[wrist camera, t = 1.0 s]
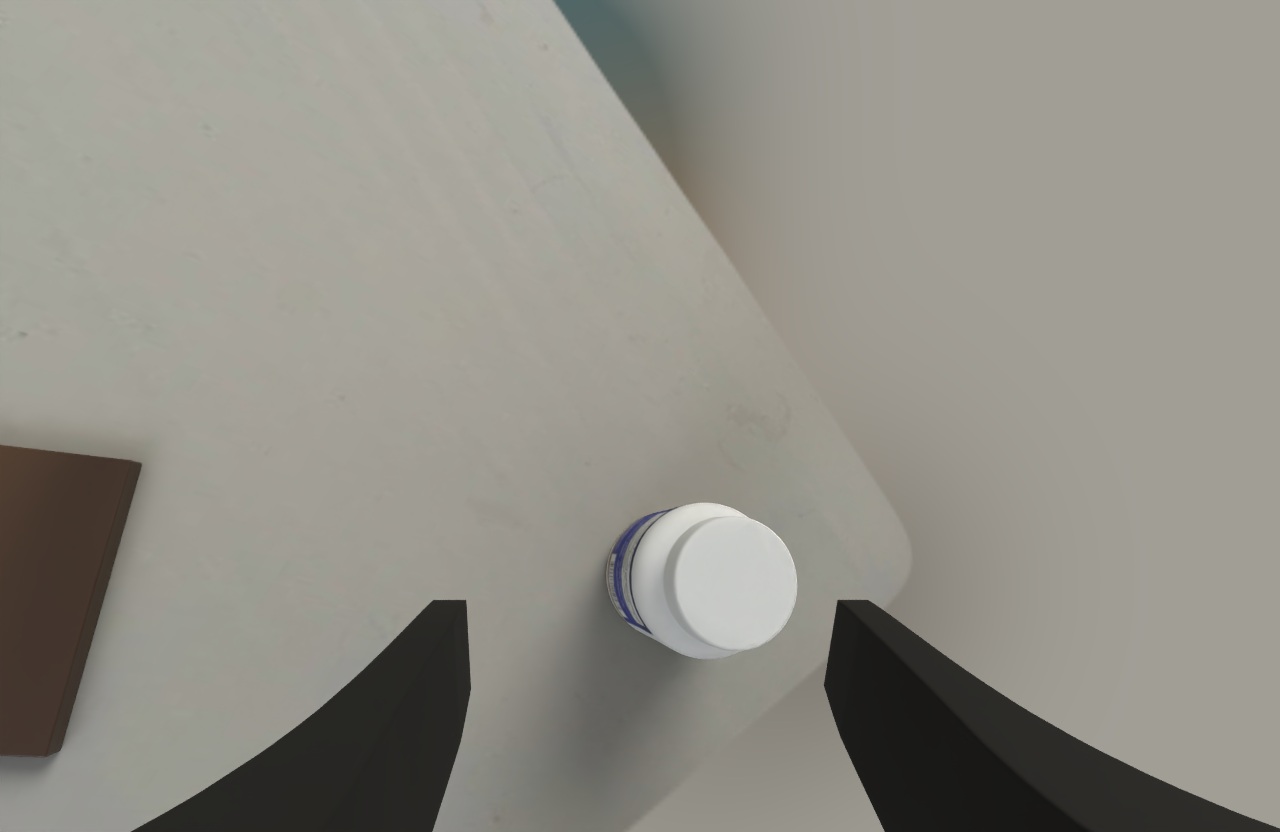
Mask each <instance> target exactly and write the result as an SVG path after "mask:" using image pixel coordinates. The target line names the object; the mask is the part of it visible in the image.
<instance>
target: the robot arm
mask: <svg viewBox="0 0 1280 832" xmlns="http://www.w3.org/2000/svg"><path fill="white" fill-rule="evenodd" d="M824 687H825V690H826V693H827V697H828V700H829V703H830V707H831V710H832V713H833V716H834V719H835V722H836V725H837V728H838V731H839V734H840V736H841V739H842V741H843V743H844V745H845V748H846V750H847V752H848V754H849V756H850V759H851V761H852V763H853V765H854V767H855V769H856V772H857V774H858V776H859V778H860V780H861V782H862V784H863V786H864V788H865V791H866V793H867V795H868V797H869V799H870V801H871V803H872V805H873V807H874V810H875V812H876V814H877V816H878V818H879V820H880V822H881V825H882V827H883V829H884V831H885V832H1280V829H1279V828H1276V827H1274V826H1271V825H1269V824H1266V823H1263V822H1260V821H1258V820H1255V819H1252V818H1249V817H1247V816H1244V815H1241V814H1239V813H1236V812H1234V811H1231V810H1229V809H1227V808H1224V807H1222V806H1219V805H1217V804H1215V803H1212V802H1210V801H1207V800H1205V799H1203V798H1201V797H1198V796H1196V795H1193V794H1191V793H1188V792H1186V791H1184V790H1181V789H1179V788H1177V787H1175V786H1173V785H1170V784H1168V783H1166V782H1164V781H1162V780H1159V779H1157V778H1155V777H1153V776H1150V775H1148V774H1146V773H1144V772H1142V771H1140V770H1138V769H1136V768H1134V767H1132V766H1130V765H1128V764H1126V763H1124V762H1122V761H1120V760H1118V759H1116V758H1113V757H1111V756H1109V755H1107V754H1105V753H1103V752H1101V751H1099V750H1097V749H1095V748H1093V747H1092V746H1090V745H1088V744H1086V743H1084V742H1082V741H1080V740H1078V739H1076V738H1075V737H1073V736H1071V735H1069V734H1067V733H1066V732H1064V731H1062V730H1061V729H1059V728H1057V727H1055V726H1053V725H1052V724H1050V723H1048V722H1046V721H1045V720H1043V719H1041V718H1039V717H1038V716H1036V715H1034V714H1032V713H1031V712H1029V711H1027V710H1026V709H1024V708H1023V707H1021V706H1019V705H1018V704H1016V703H1015V702H1013V701H1011V700H1010V699H1008V698H1007V697H1005V696H1004V695H1002V694H1001V693H999V692H998V691H996V690H995V689H993V688H992V687H990V686H988V685H987V684H985V683H984V682H982V681H981V680H979V679H978V678H976V677H975V676H974V675H972V674H971V673H969V672H968V671H966V670H965V669H963V668H962V667H960V666H959V665H958V664H956V663H955V662H953V661H952V660H950V659H949V658H948V657H946V656H945V655H944V654H942V653H941V652H940V651H938V650H937V649H935V648H934V647H933V646H931V645H930V644H929V643H927V642H926V641H924V640H923V639H922V638H920V637H919V636H918V635H916V634H915V633H914V632H912V631H911V630H910V629H908V628H907V627H906V626H904V625H903V624H902V623H900V622H899V621H898V620H896V619H895V618H893V617H892V616H891V615H889V614H888V613H886V612H885V611H884V610H882V609H881V608H879V607H878V606H876V605H875V604H873V603H872V602H870V601H869V600H838V601H837V607H836V614H835V620H834V626H833V632H832V638H831V645H830V651H829V657H828V663H827V670H826V676H825V682H824ZM470 691H471V682H470V662H469V643H468V624H467V605H466V600H433V601H432V602H431V603H430V604H429V605H428V606H427V607H426V608H425V609H424V610H423V611H422V612H421V613H420V614H419V615H418V616H417V617H416V618H415V619H414V620H413V621H412V622H411V623H410V624H409V625H408V626H407V627H406V628H405V629H404V630H403V631H402V632H401V633H400V634H399V635H398V636H397V637H396V638H395V639H394V640H393V641H392V642H391V643H390V644H389V645H388V646H387V647H386V648H385V649H384V650H383V651H382V652H381V653H380V654H379V655H378V656H377V657H376V658H375V659H374V660H373V661H372V662H371V663H370V664H369V665H368V666H367V667H366V668H365V669H364V670H363V671H362V672H360V673H359V674H358V675H357V676H356V677H355V678H354V679H353V680H352V681H351V682H349V683H348V684H347V685H346V686H345V687H344V688H343V689H341V690H340V691H339V692H338V693H337V694H336V695H335V696H333V697H332V698H331V699H330V700H329V701H328V702H327V703H325V704H324V705H323V706H322V707H321V708H320V709H318V710H317V711H316V712H315V713H314V714H312V715H311V716H310V717H309V718H307V719H306V720H305V721H303V722H302V723H301V724H300V725H298V726H297V727H296V728H294V729H293V730H292V731H290V732H289V733H287V734H286V735H285V736H283V737H282V738H281V739H279V740H278V741H277V742H275V743H274V744H273V745H271V746H270V747H268V748H267V749H266V750H264V751H263V752H261V753H260V754H258V755H257V756H255V757H254V758H252V759H251V760H249V761H248V762H246V763H245V764H243V765H241V766H240V767H238V768H237V769H235V770H234V771H232V772H231V773H229V774H228V775H226V776H225V777H223V778H222V779H220V780H218V781H217V782H215V783H214V784H212V785H211V786H209V787H208V788H206V789H205V790H203V791H201V792H200V793H198V794H196V795H195V796H193V797H191V798H190V799H188V800H186V801H185V802H183V803H181V804H179V805H178V806H176V807H174V808H173V809H171V810H169V811H167V812H166V813H164V814H162V815H160V816H159V817H157V818H155V819H153V820H151V821H149V822H148V823H146V824H144V825H142V826H140V827H139V828H137V829H135V830H133V831H131V832H432V831H433V828H434V825H435V821H436V818H437V815H438V812H439V809H440V806H441V803H442V800H443V796H444V793H445V790H446V787H447V784H448V781H449V778H450V774H451V771H452V768H453V765H454V762H455V758H456V755H457V752H458V749H459V745H460V742H461V737H462V733H463V728H464V723H465V718H466V712H467V707H468V702H469V696H470Z"/></svg>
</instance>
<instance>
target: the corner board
mask: <svg viewBox="0 0 1280 832" xmlns="http://www.w3.org/2000/svg"><path fill="white" fill-rule="evenodd" d="M141 465H142V464H141V463H139V462H135V461H131V460H123V459H114V458H106V457H97V456H89V455H80V454H72V453H64V452H55V451H47V450H38V449H30V448H21V447H13V446H4V445H0V756H19V757H47V756H49V755H51V754H53V753H56V752H58V751H60V749H61V746H62V743H63V739H64V736H65V732H66V729H67V725H68V722H69V718H70V715H71V711H72V708H73V704H74V701H75V697H76V693H77V690H78V686H79V683H80V679H81V676H82V672H83V669H84V665H85V662H86V658H87V655H88V651H89V648H90V644H91V641H92V637H93V634H94V630H95V627H96V623H97V620H98V616H99V613H100V609H101V606H102V602H103V599H104V595H105V592H106V588H107V585H108V581H109V578H110V574H111V571H112V567H113V563H114V560H115V556H116V553H117V549H118V546H119V542H120V539H121V535H122V532H123V528H124V525H125V521H126V518H127V514H128V511H129V507H130V504H131V500H132V497H133V493H134V490H135V486H136V483H137V479H138V476H139V472H140V469H141Z"/></svg>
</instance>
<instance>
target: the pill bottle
mask: <svg viewBox="0 0 1280 832" xmlns="http://www.w3.org/2000/svg"><path fill="white" fill-rule="evenodd" d="M606 579H607V587H608V592H609V595H610V598H611V601H612V603H613V605H614V607H615V608H616V610H617V611H618V613H619V614H620V616H621V617H622V618H623V619H624V620H625V621H626V622H627V623H628V624H629V625H630V626H632V627H633V628H634V629H636V630H637V631H639V632H641V633H643V634H645V635H647V636H649V637H651V638H653V639H655V640H657V641H658V642H660V643H662V644H664V645H665V646H667V647H669V648H670V649H672V650H674V651H676V652H678V653H680V654H683V655H685V656H689V657H692V658H696V659H719V658H725V657H728V656H731V655H734V654H736V653H738V652H740V651H746V650H750V649H754V648H757V647H759V646H761V645H763V644H765V643H767V642H769V641H770V640H771V639H773V638H774V637H775V636H776V635H777V634H778V633H779V632H780V631H781V630H782V629H783V627H784V626H785V624H786V623H787V621H788V620H789V618H790V616H791V614H792V611H793V608H794V605H795V601H796V595H797V576H796V570H795V566H794V562H793V559H792V557H791V555H790V553H789V551H788V549H787V547H786V546H785V544H784V543H783V541H782V540H781V539H780V538H779V537H778V536H777V535H776V534H775V533H774V532H773V531H772V530H771V529H770V528H768V527H767V526H765V525H764V524H762V523H760V522H758V521H755V520H753V519H749V518H748V517H747V516H745V515H744V514H742V513H741V512H739V511H737V510H735V509H733V508H730V507H728V506H724V505H721V504H716V503H694V504H688V505H684V506H680V507H676V508H672V509H669V510H665V511H661V512H657V513H653V514H650V515H647V516H644V517H642V518H640V519H638V520H636V521H635V522H633V523H632V524H630V525H629V526H628V527H627V528H626V529H625V530H624V531H623V532H622V533H621V534H620V536H619V537H618V538H617V540H616V541H615V543H614V545H613V547H612V549H611V552H610V554H609V558H608V563H607V570H606Z"/></svg>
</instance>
